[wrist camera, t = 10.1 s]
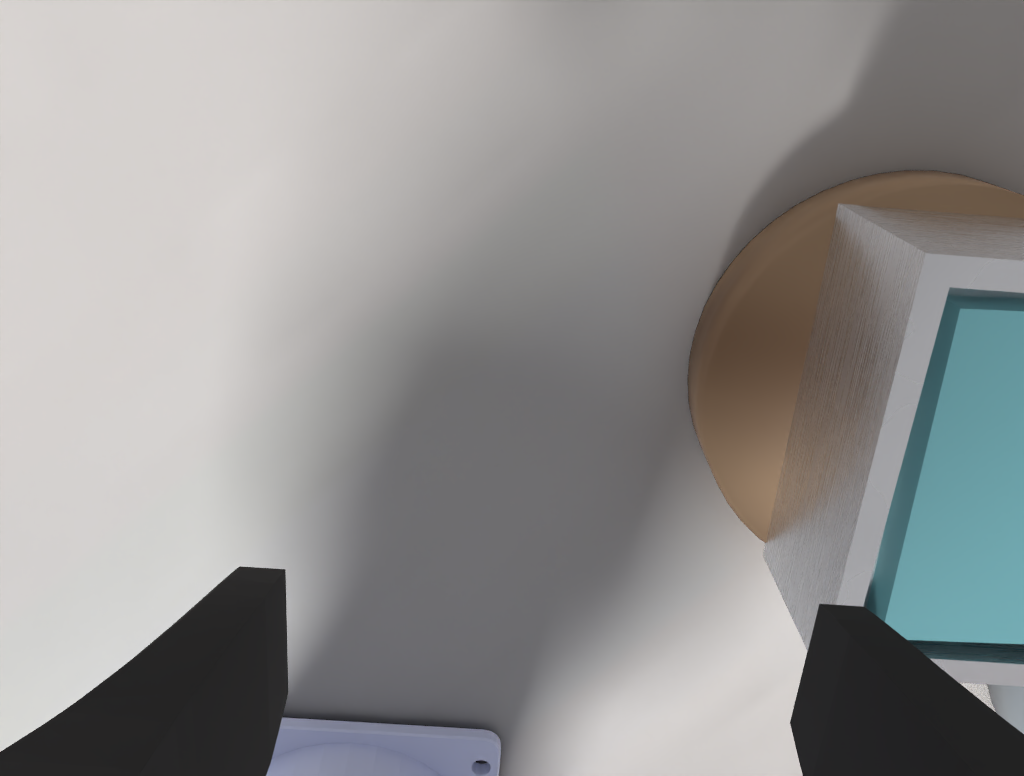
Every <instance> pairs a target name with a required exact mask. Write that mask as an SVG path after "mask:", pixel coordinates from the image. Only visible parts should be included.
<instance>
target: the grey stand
mask: <svg viewBox="0 0 1024 776" xmlns="http://www.w3.org/2000/svg"><path fill="white" fill-rule="evenodd" d="M987 685H988V689H989V693H990V697H991V701H992V704H993V706H994V708H995V710H996V713H997V714H998V715H1000V716H1001V717H1002V718H1003V719H1005V720H1006V721H1007V722H1009V723H1010V724H1011V725H1013V726H1014V727H1015V728H1016V729H1018V730H1019V731H1020V732H1022V733H1023V734H1024V687H1022V686H1006V685H990V684H987Z"/></svg>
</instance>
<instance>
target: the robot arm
mask: <svg viewBox="0 0 1024 776" xmlns="http://www.w3.org/2000/svg"><path fill="white" fill-rule="evenodd" d="M287 695H288V664H287V621H286V578H285V569H269V568H254V567H239V568H237V569H236V570H235V571H234V572H232V573H231V574H230V575H229V576H228V577H227V578H225V579H224V580H223V581H222V582H221V583H220V584H218V585H217V586H216V587H215V588H214V589H213V590H212V591H211V592H209V593H208V594H207V595H206V596H205V597H204V598H203V599H202V600H200V601H199V602H198V603H197V604H196V605H195V606H194V607H193V608H192V609H190V610H189V611H188V612H187V613H186V614H185V615H184V616H182V617H181V618H180V619H179V620H178V621H177V622H176V623H174V624H173V625H172V626H171V627H170V628H169V629H167V630H166V631H165V632H164V633H163V634H162V635H160V636H159V637H158V638H157V639H156V640H154V641H153V642H152V643H151V644H150V645H148V646H147V647H146V648H145V649H144V650H142V651H141V652H140V653H139V654H138V655H137V656H135V657H134V658H133V659H132V660H130V661H129V662H128V663H127V664H125V665H124V666H123V667H122V668H120V669H119V670H118V671H116V672H115V673H114V674H113V675H111V676H110V677H109V678H107V679H106V680H105V681H103V682H102V683H101V684H99V685H98V686H97V687H95V688H94V689H93V690H92V691H90V692H89V693H88V694H86V695H85V696H84V697H82V698H81V699H80V700H78V701H77V702H76V703H74V704H73V705H71V706H70V707H68V708H67V709H66V710H64V711H63V712H61V713H60V714H58V715H57V716H55V717H54V718H52V719H51V720H50V721H48V722H47V723H45V724H44V725H42V726H41V727H39V728H37V729H36V730H34V731H33V732H31V733H29V734H28V735H26V736H25V737H23V738H22V739H20V740H18V741H17V742H15V743H14V744H12V745H11V746H9V747H7V748H6V749H4V750H3V751H1V752H0V776H499V767H500V756H501V742H500V739H499V737H498V736H497V735H496V734H495V733H493V732H492V731H488V730H484V729H467V728H450V727H433V726H417V725H400V724H383V723H366V722H349V721H333V720H316V719H299V718H282V716H283V712H284V708H285V704H286V699H287ZM790 724H791V728H792V732H793V737H794V741H795V745H796V749H797V754H798V758H799V762H800V766H801V770H802V773H803V776H1024V734H1023V733H1022V732H1020V731H1019V730H1018V729H1016V728H1015V727H1014V726H1013V725H1011V724H1010V723H1009V722H1007V721H1006V720H1005V719H1003V718H1002V717H1001V716H1000V715H998V714H997V713H996V712H994V711H993V710H992V709H991V708H989V707H988V706H987V705H986V704H984V703H983V702H982V701H981V700H979V699H978V698H977V697H976V696H974V695H973V694H972V693H971V692H969V691H968V690H967V689H966V688H964V687H963V686H962V685H961V684H960V683H958V682H957V681H956V680H955V679H953V678H952V677H951V676H950V675H949V674H947V673H946V672H945V671H944V670H942V669H941V668H940V667H939V666H938V665H936V664H935V663H934V662H933V661H932V660H930V659H929V658H928V657H927V656H926V655H924V654H923V653H922V652H921V651H920V650H918V649H917V648H916V647H915V646H914V645H912V644H911V643H910V642H909V641H907V640H906V639H905V638H904V637H903V636H901V635H900V634H899V633H898V632H897V631H895V630H894V629H893V628H892V627H890V626H889V625H888V624H887V623H885V622H884V621H883V620H881V619H880V618H879V617H878V616H876V615H875V614H874V613H872V612H871V611H869V610H868V609H867V608H865V607H863V606H847V605H832V604H819V607H818V611H817V615H816V619H815V623H814V628H813V632H812V636H811V640H810V644H809V648H808V652H807V656H806V660H805V664H804V668H803V673H802V677H801V681H800V685H799V689H798V693H797V697H796V701H795V705H794V709H793V713H792V717H791V722H790ZM479 760H483V761H487V763H485V764H479V763H476V761H479Z"/></svg>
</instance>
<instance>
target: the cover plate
mask: <svg viewBox="0 0 1024 776" xmlns="http://www.w3.org/2000/svg"><path fill="white" fill-rule="evenodd" d="M866 608H867V609H868V610H869V611H871V612H872V613H874V614H875V615H876V616H878V617H879V618H880V619H881V620H883V621H884V622H885V623H887V624H888V625H889V626H890V627H892V628H893V629H894V630H895V631H897V632H898V633H899V634H900V635H901V636H903V637H904V638H905V639H906V640H923V641H949V642H976V643H1002V644H1024V298H1005V297H982V296H958V295H947V299H946V302H945V306H944V310H943V313H942V317H941V321H940V325H939V328H938V332H937V336H936V339H935V343H934V347H933V350H932V354H931V358H930V361H929V365H928V369H927V373H926V376H925V380H924V384H923V387H922V391H921V395H920V398H919V402H918V406H917V410H916V413H915V417H914V421H913V424H912V428H911V432H910V435H909V439H908V443H907V447H906V450H905V454H904V458H903V461H902V465H901V469H900V472H899V476H898V480H897V483H896V487H895V491H894V495H893V498H892V502H891V506H890V509H889V513H888V517H887V520H886V525H885V529H884V533H883V538H882V542H881V546H880V551H879V555H878V559H877V564H876V568H875V572H874V577H873V581H872V585H871V590H870V594H869V598H868V603H867V607H866Z"/></svg>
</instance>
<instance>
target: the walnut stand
mask: <svg viewBox="0 0 1024 776" xmlns="http://www.w3.org/2000/svg"><path fill="white" fill-rule="evenodd" d="M838 203H839V204H851V205H862V206H875V207H887V208H900V209H912V210H925V211H937V212H950V213H963V214H975V215H988V216H1000V217H1013V218H1024V195H1021V194H1018V193H1015V192H1012V191H1009V190H1007V189H1004V188H1001V187H998V186H995V185H992V184H989V183H987V182H983V181H980V180H977V179H973V178H970V177H967V176H963V175H959V174H952V173H945V172H939V171H907V170H906V171H897V172H889V173H881V174H875V175H871V176H867V177H863V178H859V179H855V180H851V181H848V182H845V183H843V184H840V185H838V186H835V187H832V188H830V189H827V190H825V191H822V192H820V193H818V194H816V195H815V196H813V197H811V198H809V199H807V200H805V201H803V202H801V203H799V204H798V205H796V206H794V207H793V208H792V209H790V210H789V211H787V212H786V213H784V214H783V215H781V216H780V217H778V218H777V219H776V220H774V221H773V222H772V223H770V224H769V225H768V226H767V227H766V228H765V229H764V230H762V231H761V232H760V233H759V234H758V235H757V236H756V237H755V238H753V239H752V240H751V241H750V242H749V243H748V245H747V246H746V247H745V248H744V249H743V250H742V251H741V252H740V253H739V255H738V256H737V257H736V258H735V259H734V260H733V261H732V263H731V264H730V266H729V267H728V268H727V270H726V271H725V273H724V274H723V276H722V277H721V278H720V280H719V281H718V283H717V284H716V286H715V288H714V290H713V292H712V294H711V296H710V298H709V299H708V301H707V303H706V305H705V307H704V310H703V312H702V315H701V318H700V320H699V323H698V326H697V328H696V331H695V335H694V339H693V344H692V348H691V352H690V358H689V369H688V397H689V407H690V412H691V417H692V422H693V426H694V429H695V432H696V434H697V437H698V440H699V443H700V445H701V448H702V450H703V452H704V455H705V457H706V459H707V462H708V464H709V466H710V468H711V471H712V473H713V475H714V478H715V480H716V482H717V484H718V486H719V488H720V490H721V491H722V493H723V495H724V497H725V499H726V501H727V503H728V504H729V505H730V507H731V508H732V509H733V511H734V512H735V513H736V515H737V516H738V517H739V519H740V520H741V521H742V522H743V523H744V524H745V525H746V526H747V527H748V528H749V529H750V530H751V531H752V532H753V533H754V534H755V535H756V536H757V537H758V538H759V539H761V540H762V541H764V542H765V543H766V540H767V535H768V530H769V526H770V521H771V516H772V512H773V507H774V502H775V498H776V493H777V488H778V484H779V479H780V474H781V470H782V465H783V461H784V456H785V451H786V447H787V442H788V437H789V433H790V428H791V423H792V419H793V414H794V409H795V405H796V400H797V395H798V391H799V386H800V381H801V377H802V372H803V367H804V363H805V358H806V353H807V349H808V344H809V339H810V335H811V330H812V326H813V321H814V316H815V312H816V307H817V302H818V298H819V293H820V288H821V284H822V279H823V274H824V270H825V265H826V260H827V256H828V251H829V246H830V242H831V237H832V232H833V228H834V223H835V218H836V212H837V208H838Z"/></svg>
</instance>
